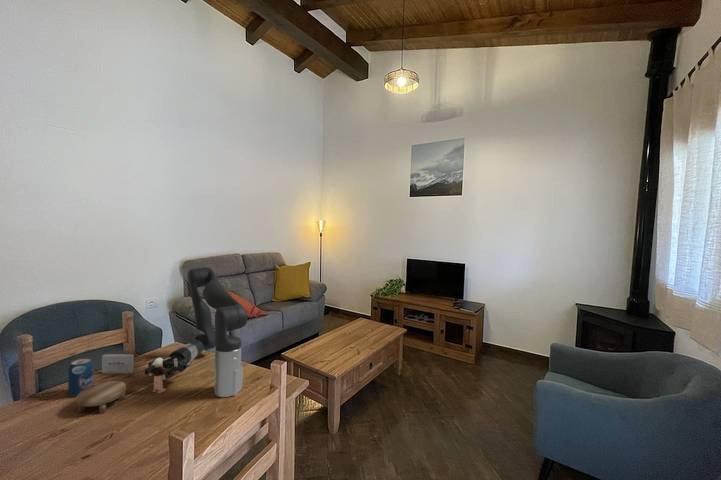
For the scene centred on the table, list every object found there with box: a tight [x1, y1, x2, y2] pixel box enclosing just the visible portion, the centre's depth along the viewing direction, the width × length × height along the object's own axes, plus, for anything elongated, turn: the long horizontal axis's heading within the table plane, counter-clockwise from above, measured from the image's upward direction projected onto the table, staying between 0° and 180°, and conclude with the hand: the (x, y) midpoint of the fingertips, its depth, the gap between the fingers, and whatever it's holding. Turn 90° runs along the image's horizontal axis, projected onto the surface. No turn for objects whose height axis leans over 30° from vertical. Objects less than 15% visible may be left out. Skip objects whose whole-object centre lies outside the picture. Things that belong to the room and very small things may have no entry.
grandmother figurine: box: [148, 357, 167, 394], centre depth 116 cm, size 8×4×13 cm, turn 84°
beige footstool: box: [76, 380, 127, 415], centre depth 106 cm, size 13×13×5 cm
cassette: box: [101, 354, 135, 375], centre depth 129 cm, size 12×2×8 cm, turn 96°
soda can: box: [67, 357, 95, 398], centre depth 113 cm, size 7×7×12 cm
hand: (156, 373), depth 116 cm, fingers open, 8 cm apart
